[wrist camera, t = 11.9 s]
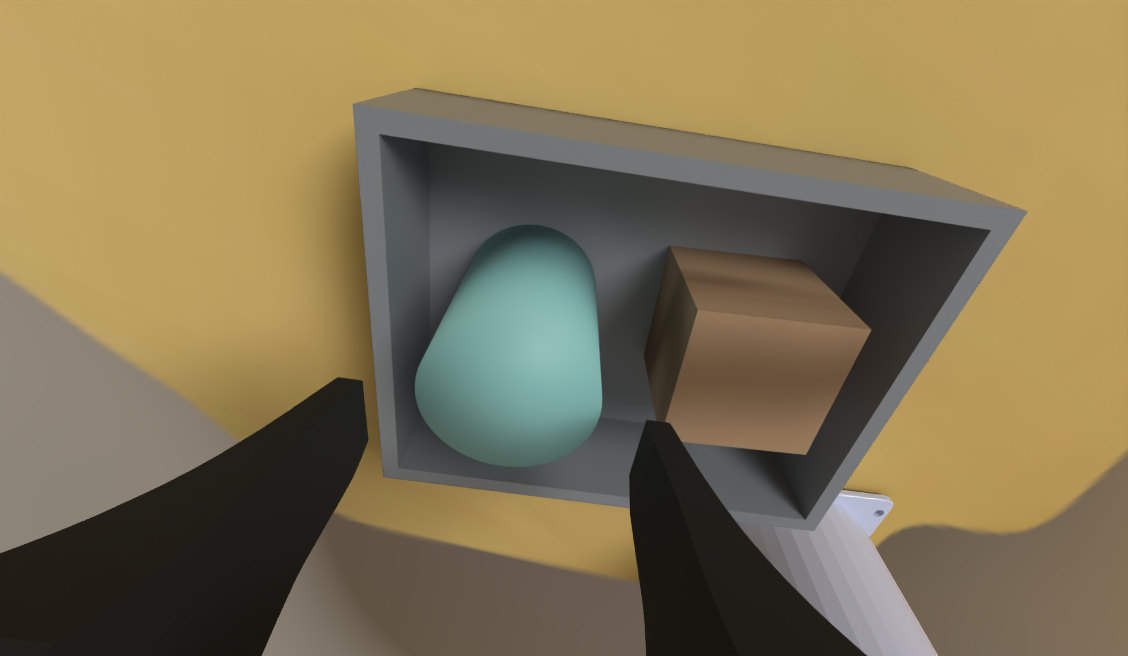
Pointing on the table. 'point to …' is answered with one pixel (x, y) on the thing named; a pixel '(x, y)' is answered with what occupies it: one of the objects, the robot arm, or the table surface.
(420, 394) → the teal cylinder
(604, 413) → the tote
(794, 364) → the walnut cube
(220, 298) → the table surface
